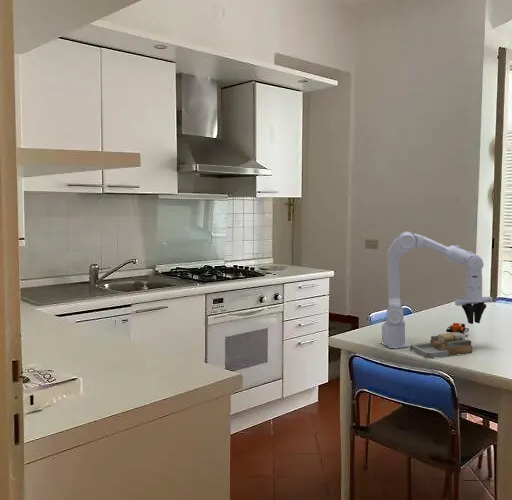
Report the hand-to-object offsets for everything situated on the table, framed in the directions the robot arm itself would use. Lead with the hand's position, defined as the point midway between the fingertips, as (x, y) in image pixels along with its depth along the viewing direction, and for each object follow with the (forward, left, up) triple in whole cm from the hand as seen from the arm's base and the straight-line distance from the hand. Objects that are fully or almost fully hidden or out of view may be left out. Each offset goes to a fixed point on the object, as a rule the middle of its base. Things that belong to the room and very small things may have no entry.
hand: (473, 323), depth 208 cm
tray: (0, -19, -9) cm, 21 cm away
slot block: (0, -10, -9) cm, 14 cm away
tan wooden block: (0, -12, -6) cm, 13 cm away
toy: (-17, +5, -10) cm, 21 cm away
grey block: (0, -7, -6) cm, 10 cm away
